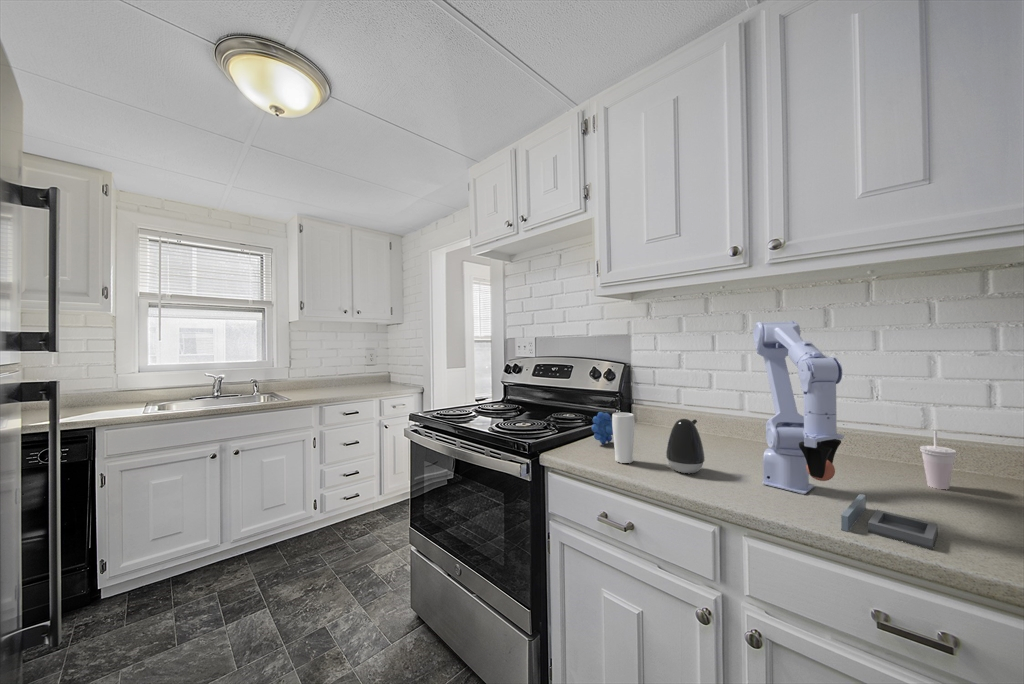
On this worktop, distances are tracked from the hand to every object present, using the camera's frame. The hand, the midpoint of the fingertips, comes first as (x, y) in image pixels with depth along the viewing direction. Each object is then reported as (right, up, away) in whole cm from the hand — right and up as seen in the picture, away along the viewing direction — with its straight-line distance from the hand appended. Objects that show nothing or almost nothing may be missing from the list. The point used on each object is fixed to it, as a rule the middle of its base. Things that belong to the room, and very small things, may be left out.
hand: (820, 473), depth 88 cm
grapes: (-34, -9, +58) cm, 68 cm away
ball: (0, +1, 0) cm, 1 cm away
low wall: (+4, -8, -4) cm, 10 cm away
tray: (+8, -8, -10) cm, 15 cm away
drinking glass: (-33, -9, +38) cm, 51 cm away
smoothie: (+39, -8, +12) cm, 42 cm away
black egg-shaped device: (-17, -9, +28) cm, 34 cm away
